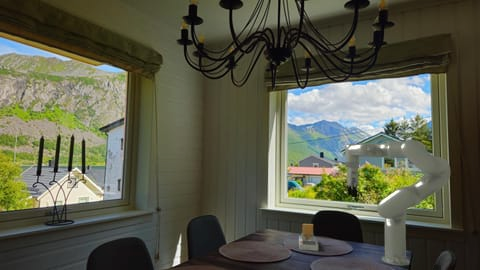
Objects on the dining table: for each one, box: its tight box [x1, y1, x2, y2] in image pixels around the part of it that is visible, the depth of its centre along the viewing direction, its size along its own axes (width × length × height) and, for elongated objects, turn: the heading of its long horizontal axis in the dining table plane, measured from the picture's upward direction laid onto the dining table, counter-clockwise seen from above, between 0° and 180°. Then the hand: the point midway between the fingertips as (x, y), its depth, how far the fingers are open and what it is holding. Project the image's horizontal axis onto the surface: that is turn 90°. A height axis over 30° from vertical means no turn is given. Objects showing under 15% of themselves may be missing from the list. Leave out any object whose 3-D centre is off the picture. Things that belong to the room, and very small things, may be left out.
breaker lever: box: [302, 223, 314, 239], centre depth 188 cm, size 2×6×8 cm, turn 81°
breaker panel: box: [298, 232, 319, 252], centre depth 184 cm, size 20×10×5 cm, turn 171°
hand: (352, 196), depth 176 cm, fingers open, 9 cm apart
